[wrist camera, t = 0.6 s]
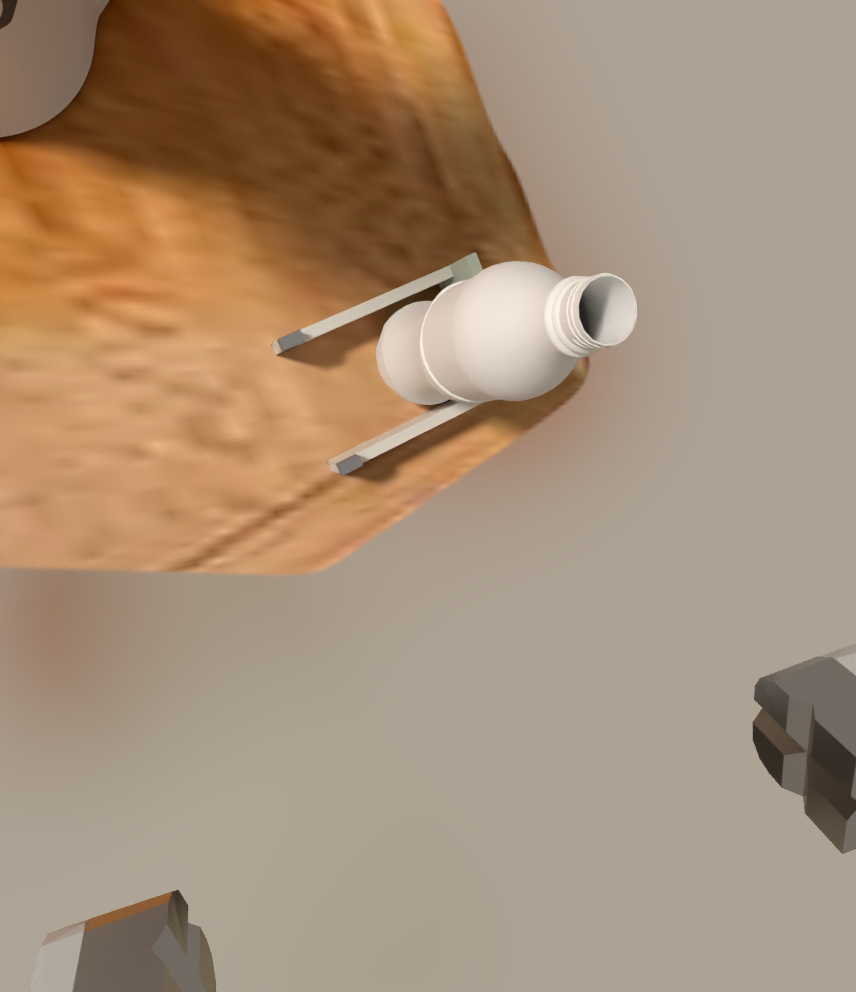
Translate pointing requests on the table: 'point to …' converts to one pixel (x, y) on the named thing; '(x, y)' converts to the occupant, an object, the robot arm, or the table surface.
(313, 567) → the table surface
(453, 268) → the bay
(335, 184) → the table surface
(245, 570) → the table surface
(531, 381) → the water bottle
